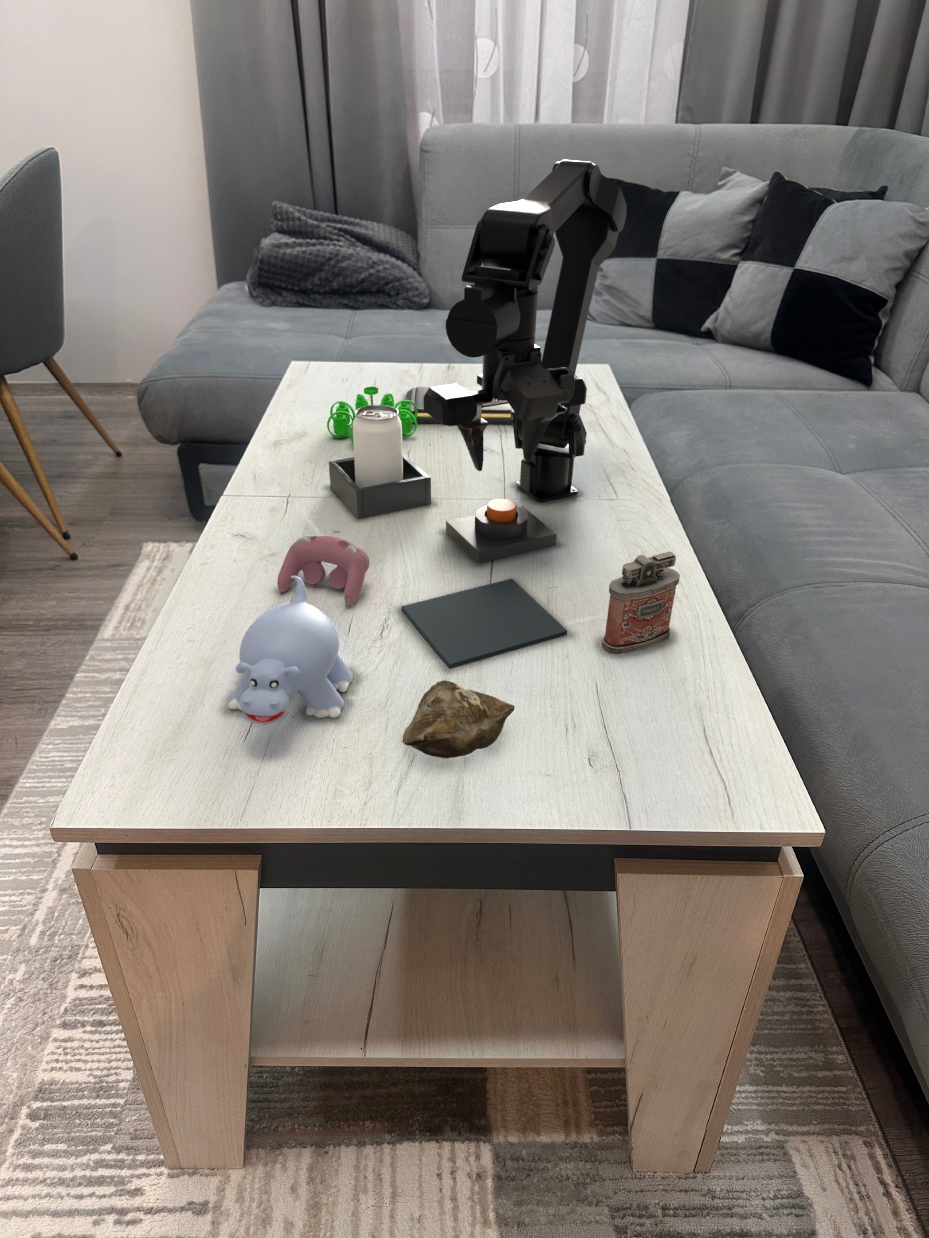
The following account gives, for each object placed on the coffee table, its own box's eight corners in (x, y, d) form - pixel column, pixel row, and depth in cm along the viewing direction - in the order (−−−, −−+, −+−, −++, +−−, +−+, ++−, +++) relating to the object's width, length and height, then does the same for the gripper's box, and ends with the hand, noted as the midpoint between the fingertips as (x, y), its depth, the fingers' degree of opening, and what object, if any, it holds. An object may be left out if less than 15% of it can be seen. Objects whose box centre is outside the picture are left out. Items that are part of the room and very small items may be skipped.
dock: (399, 475, 127) (399, 449, 125) (431, 504, 119) (431, 477, 117) (330, 488, 123) (328, 461, 121) (357, 519, 115) (356, 491, 113)
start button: (506, 508, 112) (507, 496, 111) (520, 520, 109) (521, 507, 108) (481, 514, 110) (482, 501, 109) (495, 526, 108) (496, 513, 107)
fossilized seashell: (413, 765, 73) (525, 759, 76) (414, 684, 73) (526, 683, 76) (391, 750, 80) (495, 746, 83) (392, 677, 80) (496, 676, 83)
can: (396, 508, 118) (394, 423, 111) (350, 503, 119) (345, 418, 112) (408, 488, 123) (407, 405, 117) (364, 484, 124) (360, 401, 118)
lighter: (614, 659, 90) (625, 574, 85) (595, 641, 93) (605, 559, 87) (676, 639, 93) (691, 557, 88) (656, 623, 96) (669, 542, 90)
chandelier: (309, 442, 137) (304, 400, 133) (353, 409, 148) (349, 368, 145) (397, 456, 133) (395, 412, 129) (435, 420, 144) (434, 379, 140)
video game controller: (368, 604, 101) (377, 544, 100) (351, 607, 96) (361, 544, 95) (291, 588, 103) (299, 529, 102) (271, 590, 99) (280, 529, 98)
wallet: (520, 384, 156) (523, 415, 143) (519, 395, 157) (523, 426, 144) (407, 382, 156) (400, 412, 143) (407, 392, 157) (401, 423, 144)
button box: (520, 516, 117) (521, 492, 115) (556, 545, 110) (558, 520, 108) (445, 532, 113) (445, 507, 111) (478, 564, 106) (479, 538, 104)
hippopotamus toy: (205, 749, 78) (189, 662, 72) (256, 651, 90) (245, 571, 85) (325, 759, 77) (317, 672, 71) (360, 659, 89) (355, 578, 84)
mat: (511, 582, 102) (511, 578, 102) (567, 635, 94) (567, 630, 93) (401, 610, 97) (401, 606, 97) (449, 669, 88) (449, 664, 88)
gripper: (467, 364, 88) (464, 506, 96) (621, 343, 95) (605, 477, 104) (421, 335, 96) (422, 468, 105) (565, 318, 103) (555, 444, 112)
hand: (503, 465), depth 106 cm, fingers open, 6 cm apart
